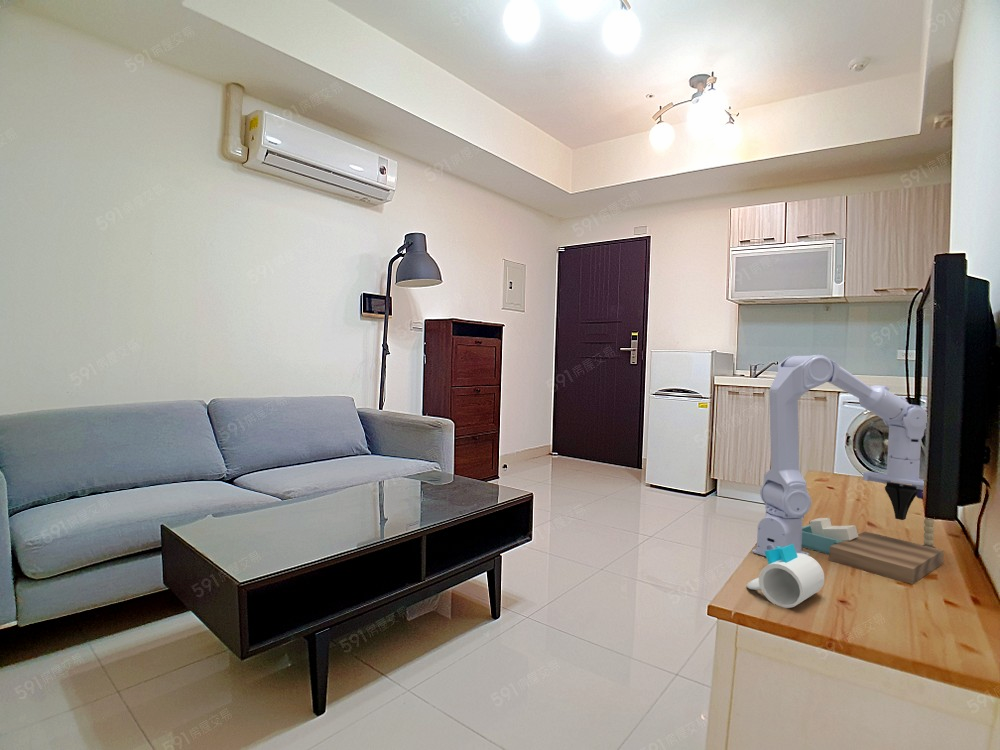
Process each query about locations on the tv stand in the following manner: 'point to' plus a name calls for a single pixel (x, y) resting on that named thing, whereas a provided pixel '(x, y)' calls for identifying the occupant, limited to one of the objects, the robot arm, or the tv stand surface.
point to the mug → (788, 577)
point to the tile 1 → (819, 525)
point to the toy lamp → (927, 527)
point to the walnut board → (887, 556)
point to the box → (816, 541)
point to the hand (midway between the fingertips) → (900, 518)
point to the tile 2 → (841, 532)
